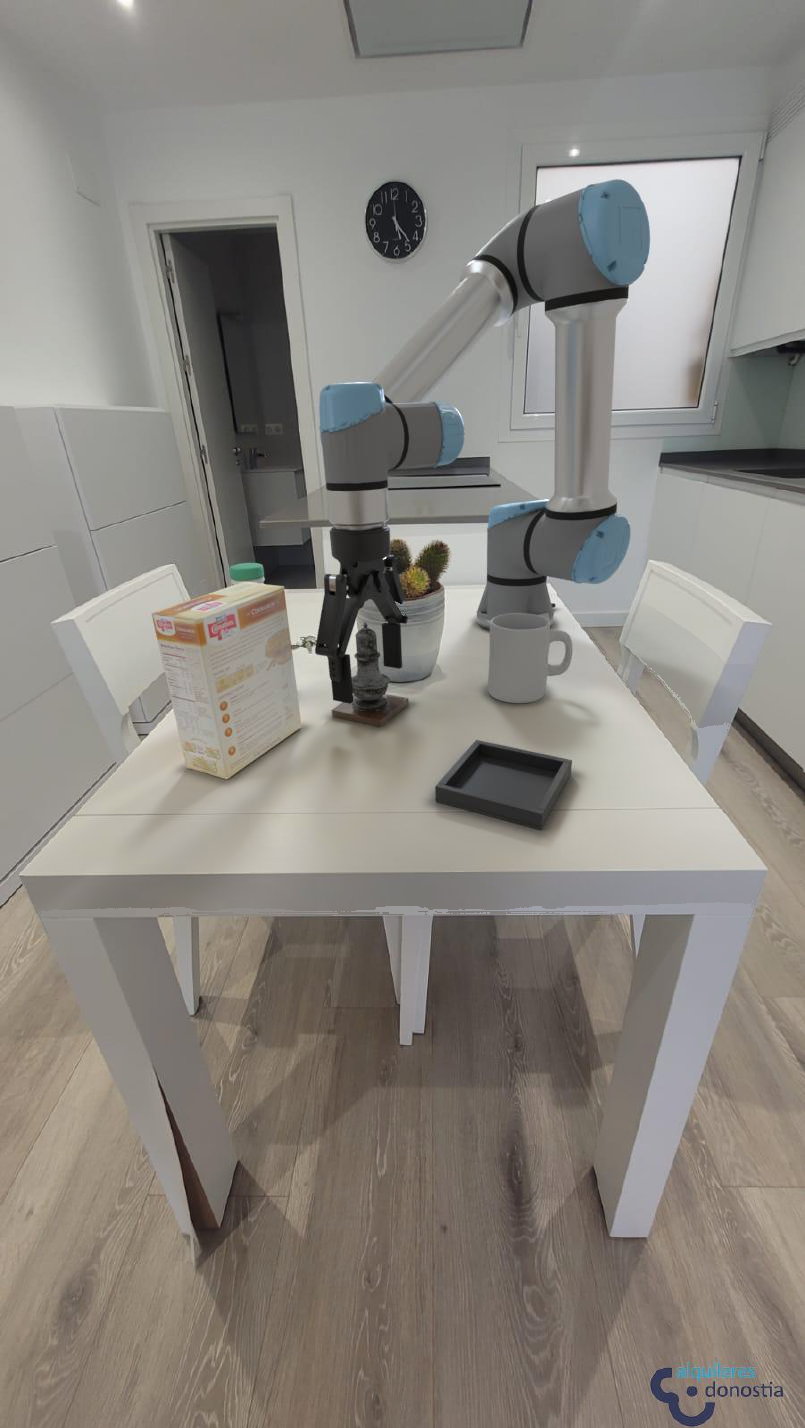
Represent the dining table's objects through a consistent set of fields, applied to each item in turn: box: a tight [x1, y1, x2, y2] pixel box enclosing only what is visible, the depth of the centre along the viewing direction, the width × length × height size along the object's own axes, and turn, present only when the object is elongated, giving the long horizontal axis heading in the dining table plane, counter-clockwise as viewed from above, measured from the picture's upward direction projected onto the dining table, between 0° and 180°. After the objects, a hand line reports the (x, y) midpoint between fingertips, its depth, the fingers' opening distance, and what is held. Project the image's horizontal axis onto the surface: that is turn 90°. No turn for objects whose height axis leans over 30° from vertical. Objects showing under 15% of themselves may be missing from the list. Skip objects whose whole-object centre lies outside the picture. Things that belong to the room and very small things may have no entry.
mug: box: [487, 613, 573, 704], centre depth 87 cm, size 12×8×11 cm
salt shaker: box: [352, 622, 391, 712], centre depth 82 cm, size 6×6×12 cm
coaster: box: [331, 693, 410, 728], centre depth 85 cm, size 8×8×1 cm
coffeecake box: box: [150, 582, 303, 780], centre depth 72 cm, size 15×7×20 cm, turn 152°
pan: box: [434, 739, 573, 831], centre depth 65 cm, size 12×12×2 cm
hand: (369, 682), depth 83 cm, fingers open, 13 cm apart
